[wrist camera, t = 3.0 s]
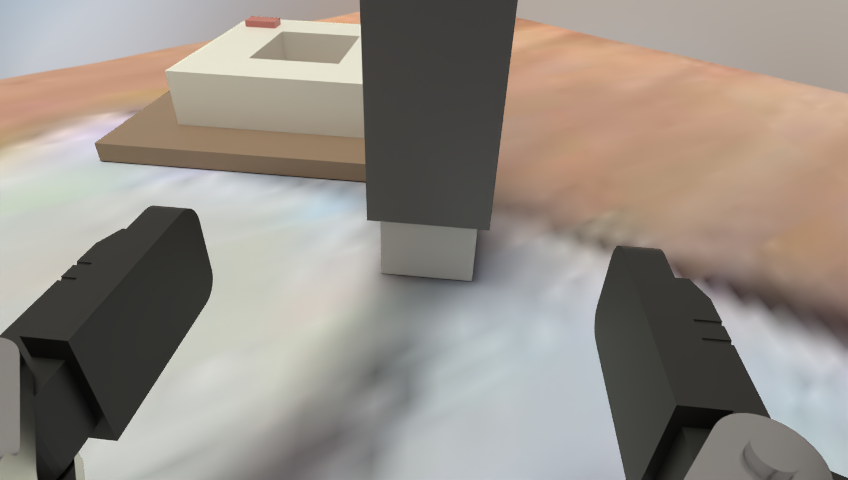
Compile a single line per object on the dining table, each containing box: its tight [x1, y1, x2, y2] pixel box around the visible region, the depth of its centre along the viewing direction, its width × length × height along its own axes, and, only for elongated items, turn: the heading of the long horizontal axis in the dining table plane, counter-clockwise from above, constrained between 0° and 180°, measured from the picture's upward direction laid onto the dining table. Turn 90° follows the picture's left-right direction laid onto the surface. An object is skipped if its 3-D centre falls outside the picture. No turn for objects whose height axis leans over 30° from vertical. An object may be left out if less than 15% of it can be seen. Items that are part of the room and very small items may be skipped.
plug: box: [360, 0, 518, 281], centre depth 20 cm, size 4×5×12 cm
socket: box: [95, 16, 366, 182], centre depth 34 cm, size 18×18×4 cm
